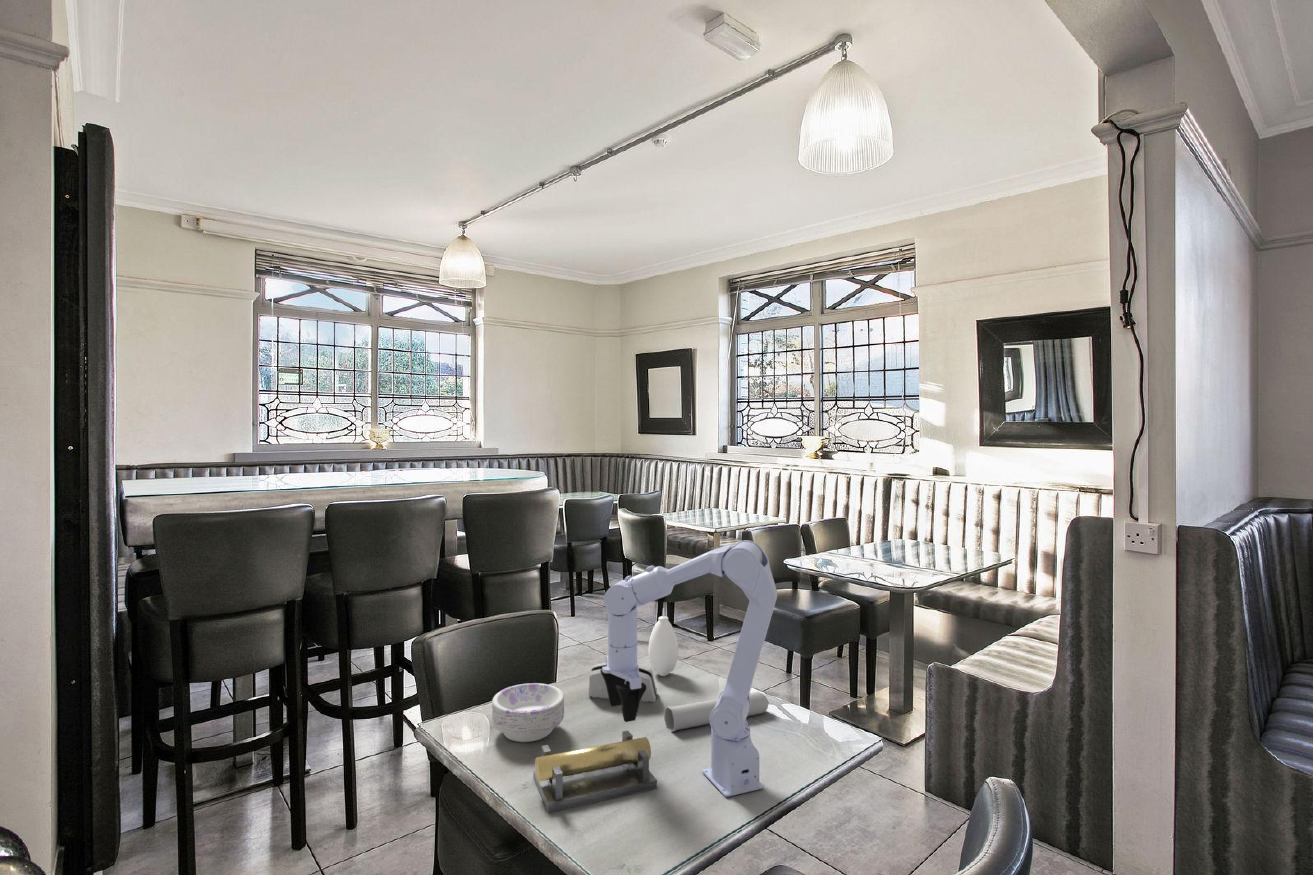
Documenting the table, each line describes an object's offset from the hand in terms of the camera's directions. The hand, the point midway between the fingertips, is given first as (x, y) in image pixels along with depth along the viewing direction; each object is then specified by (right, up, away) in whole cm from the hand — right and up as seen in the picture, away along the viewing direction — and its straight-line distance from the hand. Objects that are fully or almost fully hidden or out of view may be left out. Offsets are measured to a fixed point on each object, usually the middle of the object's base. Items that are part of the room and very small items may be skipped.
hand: (622, 712), depth 130 cm
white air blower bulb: (+8, -9, +46) cm, 48 cm away
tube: (+21, -10, +19) cm, 30 cm away
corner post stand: (-5, -10, -8) cm, 13 cm away
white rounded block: (-2, -10, +31) cm, 33 cm away
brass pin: (-5, -7, -8) cm, 12 cm away
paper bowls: (-21, -10, +13) cm, 26 cm away
